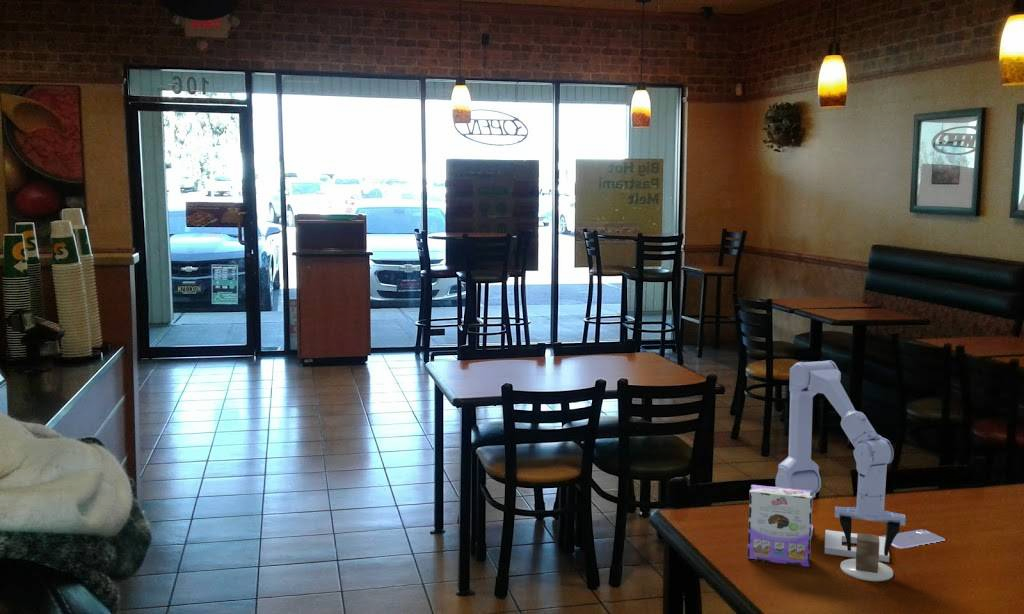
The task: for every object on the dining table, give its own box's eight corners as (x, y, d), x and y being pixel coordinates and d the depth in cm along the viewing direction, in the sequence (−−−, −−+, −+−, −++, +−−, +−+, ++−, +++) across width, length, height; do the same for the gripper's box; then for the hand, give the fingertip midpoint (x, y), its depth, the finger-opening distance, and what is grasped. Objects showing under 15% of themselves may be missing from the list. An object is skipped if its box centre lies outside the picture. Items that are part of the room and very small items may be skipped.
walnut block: (855, 570, 202) (857, 540, 201) (855, 562, 207) (857, 532, 206) (877, 573, 201) (879, 542, 200) (876, 565, 205) (878, 535, 204)
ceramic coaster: (840, 576, 200) (840, 574, 200) (840, 558, 210) (840, 555, 210) (894, 584, 196) (894, 581, 196) (891, 565, 207) (891, 562, 207)
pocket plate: (824, 553, 213) (824, 547, 213) (825, 535, 224) (825, 529, 224) (888, 562, 208) (889, 555, 208) (886, 543, 220) (886, 537, 219)
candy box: (809, 558, 210) (813, 489, 208) (809, 568, 205) (812, 497, 203) (748, 550, 215) (751, 482, 213) (746, 559, 209) (749, 490, 207)
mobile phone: (876, 535, 223) (923, 527, 228) (875, 539, 223) (923, 531, 228) (899, 546, 216) (947, 538, 221) (899, 550, 216) (947, 542, 221)
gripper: (836, 494, 200) (832, 553, 202) (907, 502, 195) (903, 563, 197) (836, 484, 206) (833, 542, 208) (905, 492, 202) (901, 550, 203)
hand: (867, 551), depth 203 cm, fingers open, 7 cm apart
